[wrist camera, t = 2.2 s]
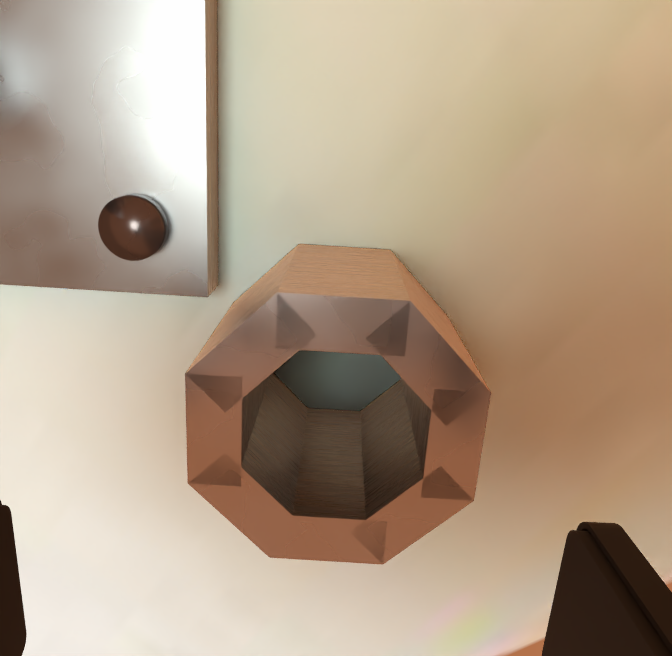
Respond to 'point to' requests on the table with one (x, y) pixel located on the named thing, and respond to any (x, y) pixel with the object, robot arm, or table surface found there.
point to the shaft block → (109, 145)
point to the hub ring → (335, 412)
